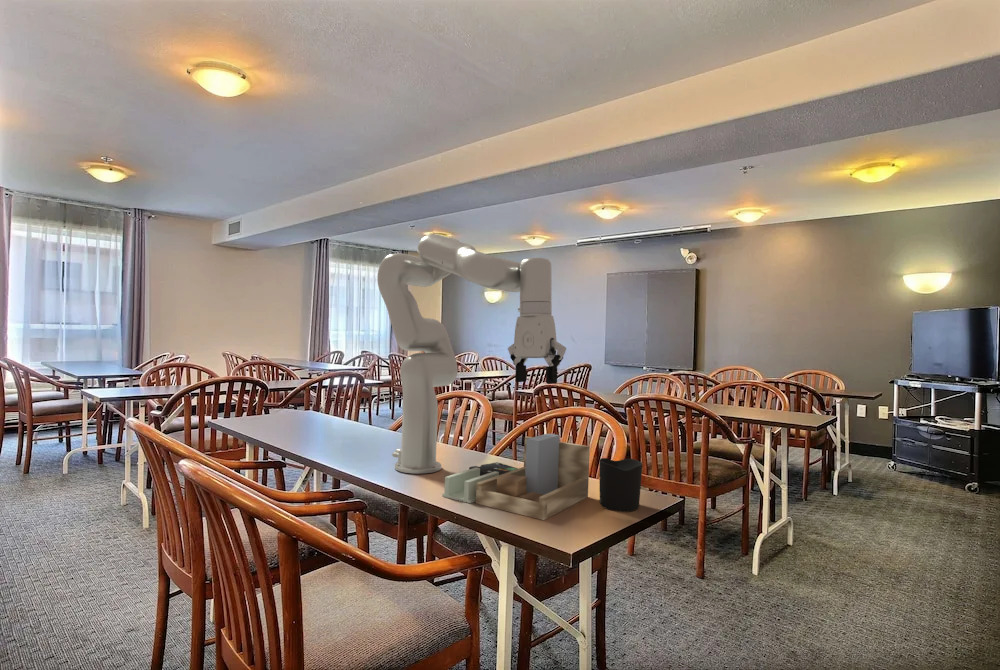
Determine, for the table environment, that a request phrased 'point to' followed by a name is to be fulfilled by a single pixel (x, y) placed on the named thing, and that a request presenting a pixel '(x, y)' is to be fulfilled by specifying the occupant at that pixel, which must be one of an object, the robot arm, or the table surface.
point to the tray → (568, 493)
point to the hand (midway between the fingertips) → (535, 382)
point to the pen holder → (620, 484)
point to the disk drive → (494, 468)
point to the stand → (465, 484)
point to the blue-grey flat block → (542, 463)
